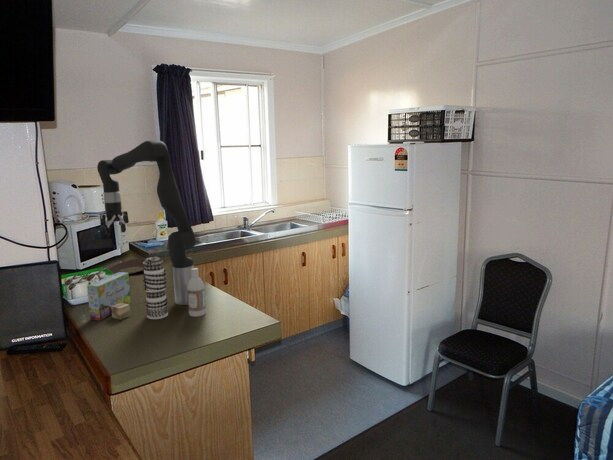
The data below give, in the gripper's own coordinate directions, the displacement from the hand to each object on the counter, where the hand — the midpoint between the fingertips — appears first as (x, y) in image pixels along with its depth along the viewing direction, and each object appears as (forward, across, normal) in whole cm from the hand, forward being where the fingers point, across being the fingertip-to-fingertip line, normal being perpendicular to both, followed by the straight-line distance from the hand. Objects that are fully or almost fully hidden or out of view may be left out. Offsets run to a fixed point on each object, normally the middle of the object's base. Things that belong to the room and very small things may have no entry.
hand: (116, 233), depth 216 cm
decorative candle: (+29, -17, -46) cm, 57 cm away
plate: (+29, +28, +26) cm, 47 cm away
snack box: (+29, -23, -24) cm, 44 cm away
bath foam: (+29, -8, -60) cm, 67 cm away
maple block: (+29, -25, -33) cm, 50 cm away
